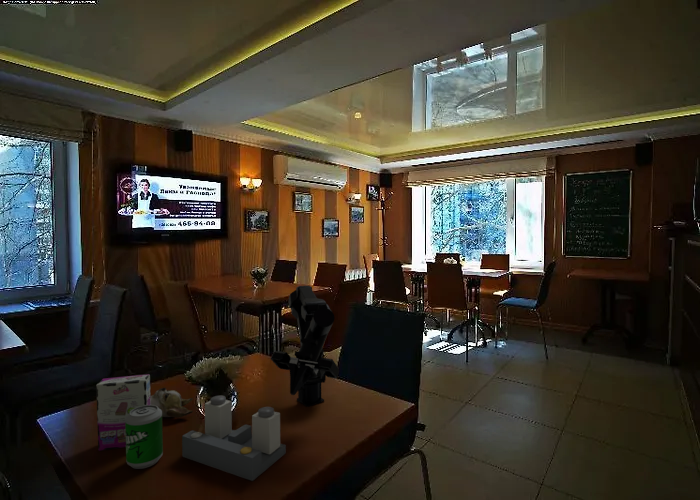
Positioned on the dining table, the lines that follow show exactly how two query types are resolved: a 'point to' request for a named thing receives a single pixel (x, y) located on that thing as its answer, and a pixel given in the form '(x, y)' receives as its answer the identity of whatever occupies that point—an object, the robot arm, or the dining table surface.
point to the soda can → (144, 436)
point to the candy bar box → (118, 407)
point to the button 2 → (266, 430)
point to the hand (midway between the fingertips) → (292, 394)
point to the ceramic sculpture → (170, 403)
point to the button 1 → (218, 417)
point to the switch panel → (230, 452)
